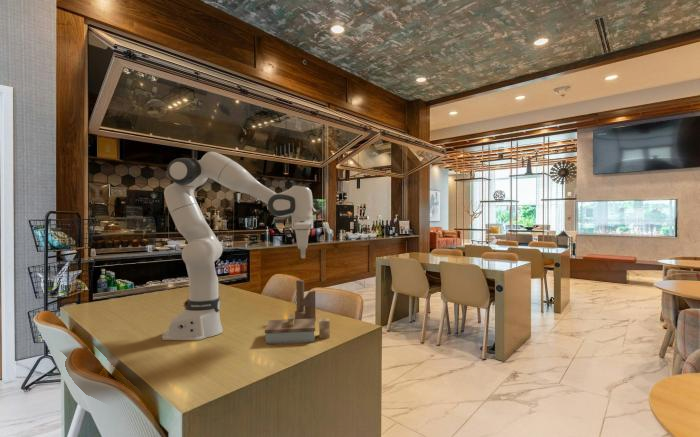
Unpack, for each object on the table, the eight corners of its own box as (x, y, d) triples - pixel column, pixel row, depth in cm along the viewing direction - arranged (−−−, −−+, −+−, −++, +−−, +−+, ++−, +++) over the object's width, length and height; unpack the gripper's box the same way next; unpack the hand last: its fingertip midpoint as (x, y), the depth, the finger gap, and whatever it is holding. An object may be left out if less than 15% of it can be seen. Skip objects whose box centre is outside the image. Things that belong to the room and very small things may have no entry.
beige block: (319, 338, 134) (319, 321, 134) (319, 334, 138) (319, 318, 138) (329, 337, 134) (329, 321, 134) (329, 334, 138) (329, 318, 138)
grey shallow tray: (265, 344, 127) (265, 333, 127) (269, 333, 139) (269, 323, 139) (314, 341, 129) (314, 331, 130) (314, 331, 141) (314, 322, 141)
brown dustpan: (309, 323, 153) (309, 283, 153) (294, 319, 160) (294, 280, 160) (316, 321, 156) (315, 282, 156) (300, 317, 163) (300, 279, 163)
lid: (264, 333, 127) (264, 321, 127) (269, 323, 140) (268, 312, 140) (315, 331, 129) (315, 319, 129) (314, 321, 142) (314, 311, 142)
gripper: (295, 224, 152) (296, 255, 152) (293, 225, 131) (294, 261, 131) (310, 224, 152) (310, 255, 152) (310, 224, 132) (310, 260, 132)
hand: (303, 258), depth 142 cm, fingers closed
